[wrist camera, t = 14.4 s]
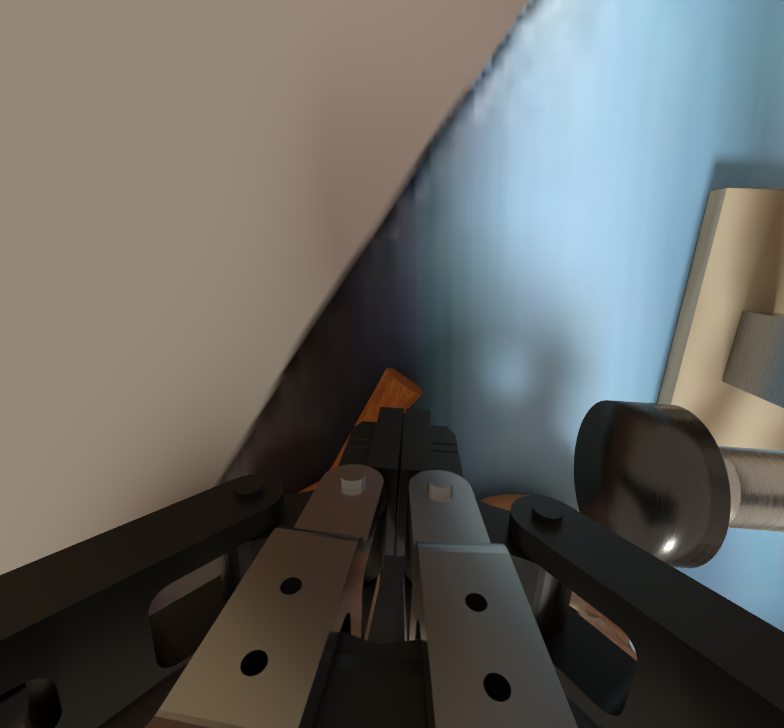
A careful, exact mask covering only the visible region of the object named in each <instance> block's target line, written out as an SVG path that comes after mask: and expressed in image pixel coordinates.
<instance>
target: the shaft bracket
mask: <svg viewBox="0 0 784 728" xmlns="http://www.w3.org/2000/svg"><path fill="white" fill-rule="evenodd" d="M722 382H725V383H727V384H729V385H731V386H734V387H736V388H738V389H741V390H743V391H745V392H748V393H750V394H752V395H754V396H757V397H759V398H761V399H764V400H766V401H768V402H770V403H773V404H775V405H777V406H780V407H782V408H784V314H781V313H775V312H759V311H742V313H741V317H740V320H739V324H738V327H737V331H736V334H735V337H734V341H733V344H732V348H731V351H730V354H729V358H728V361H727V365H726V368H725V371H724V375H723V378H722Z"/></svg>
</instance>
